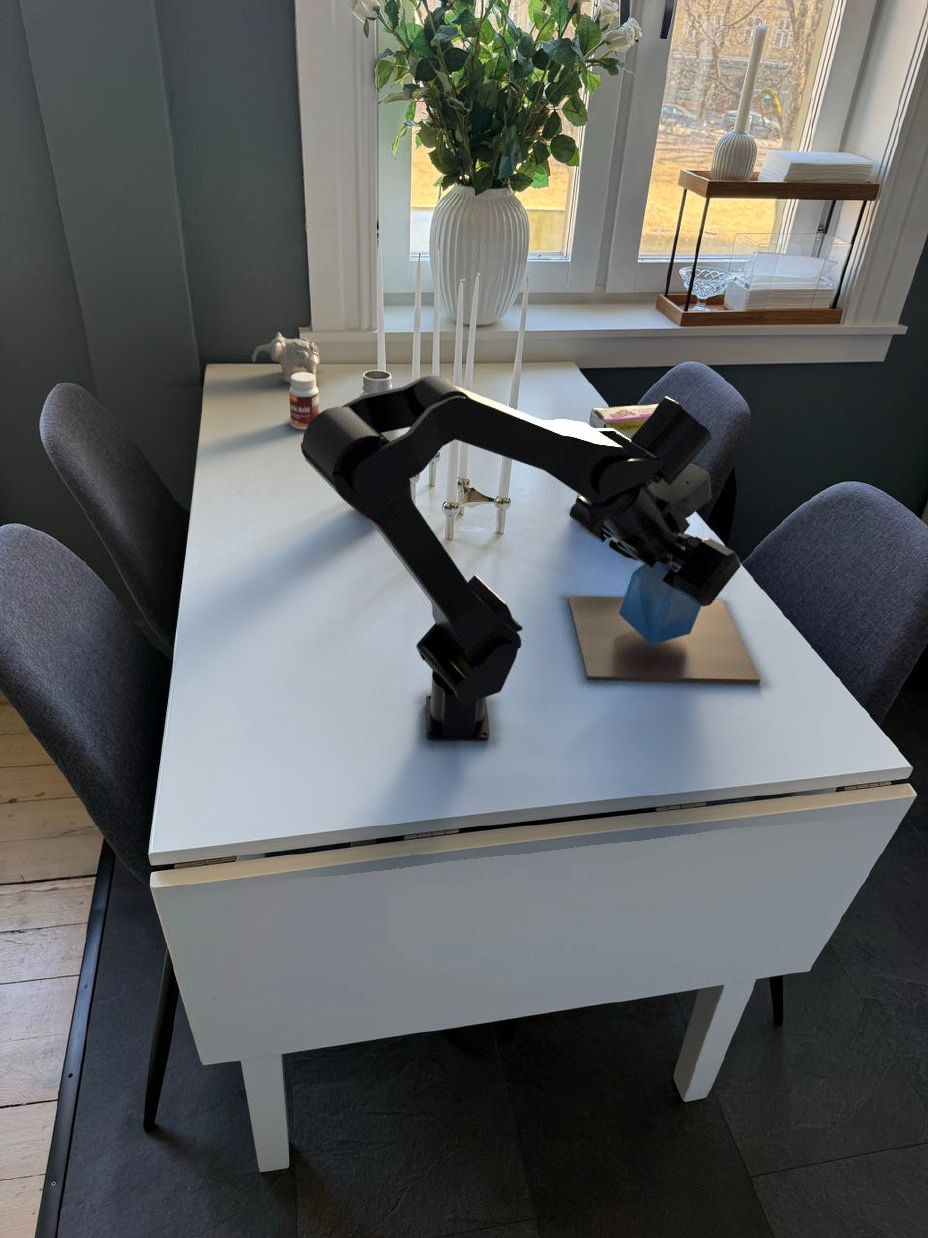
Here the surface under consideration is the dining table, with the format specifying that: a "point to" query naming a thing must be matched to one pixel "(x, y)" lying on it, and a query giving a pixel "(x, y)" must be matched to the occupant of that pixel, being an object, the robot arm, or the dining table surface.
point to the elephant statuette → (291, 354)
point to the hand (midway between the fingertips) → (680, 571)
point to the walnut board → (659, 647)
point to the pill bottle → (303, 399)
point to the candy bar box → (621, 419)
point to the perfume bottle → (657, 605)
